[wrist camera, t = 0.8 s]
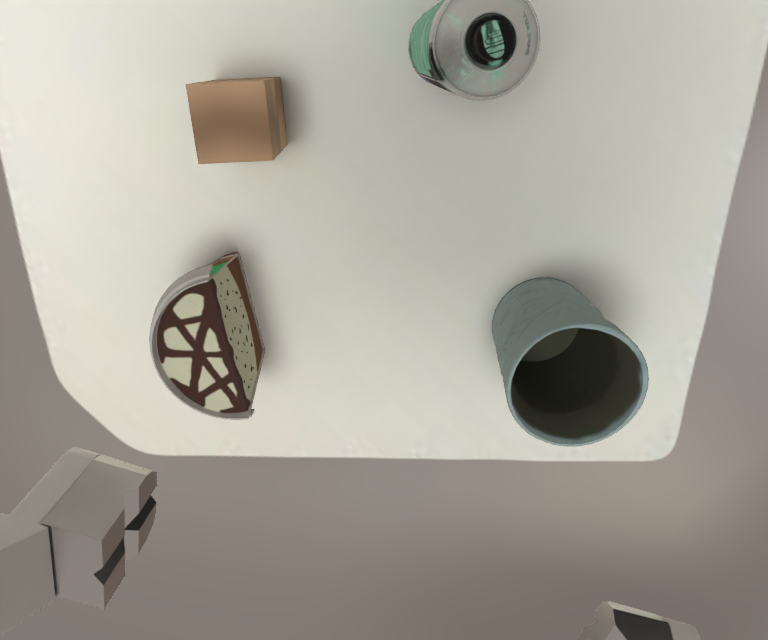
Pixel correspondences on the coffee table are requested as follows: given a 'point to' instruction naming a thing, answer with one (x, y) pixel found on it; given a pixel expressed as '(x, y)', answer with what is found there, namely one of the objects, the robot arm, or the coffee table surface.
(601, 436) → the plant pot
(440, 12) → the spray can
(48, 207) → the coffee table surface
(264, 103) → the walnut block
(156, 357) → the ice cream tub
